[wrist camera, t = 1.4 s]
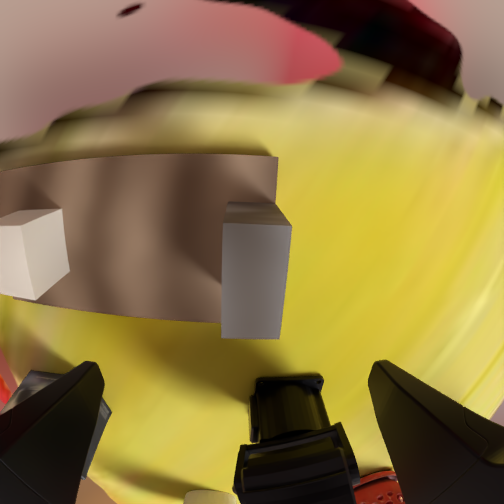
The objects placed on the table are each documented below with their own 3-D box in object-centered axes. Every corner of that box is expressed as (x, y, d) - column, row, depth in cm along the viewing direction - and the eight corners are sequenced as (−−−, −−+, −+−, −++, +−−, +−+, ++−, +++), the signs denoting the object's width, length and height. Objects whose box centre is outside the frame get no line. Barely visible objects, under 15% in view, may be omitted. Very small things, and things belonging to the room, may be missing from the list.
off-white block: (62, 208, 17) (20, 225, 13) (69, 271, 19) (35, 300, 14) (19, 210, 17) (-21, 226, 12) (28, 267, 19) (-7, 292, 14)
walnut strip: (276, 156, 18) (297, 157, 11) (264, 317, 22) (273, 379, 15) (0, 171, 17) (-54, 184, 10) (18, 294, 21) (-23, 330, 14)
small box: (89, 372, 24) (50, 446, 14) (114, 412, 26) (89, 482, 16) (28, 367, 24) (-11, 423, 14) (52, 404, 26) (23, 459, 16)
